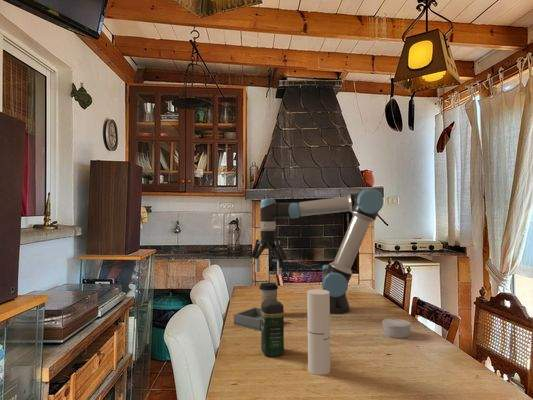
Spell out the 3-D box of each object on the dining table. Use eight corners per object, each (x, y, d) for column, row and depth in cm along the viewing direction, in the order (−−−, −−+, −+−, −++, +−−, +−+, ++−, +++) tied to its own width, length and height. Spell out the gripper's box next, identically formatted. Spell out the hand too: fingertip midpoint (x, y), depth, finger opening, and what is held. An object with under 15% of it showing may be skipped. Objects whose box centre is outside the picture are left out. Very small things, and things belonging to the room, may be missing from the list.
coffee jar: (286, 356, 129) (286, 303, 129) (264, 358, 127) (264, 304, 128) (280, 346, 138) (279, 297, 139) (259, 348, 137) (259, 298, 137)
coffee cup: (276, 317, 175) (276, 286, 175) (257, 316, 177) (257, 285, 177) (279, 312, 184) (279, 282, 184) (261, 311, 186) (261, 281, 186)
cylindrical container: (306, 365, 121) (305, 289, 121) (327, 364, 121) (326, 289, 122) (310, 375, 114) (309, 294, 114) (333, 374, 114) (332, 294, 115)
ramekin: (410, 332, 153) (410, 319, 154) (412, 341, 143) (411, 327, 143) (382, 329, 157) (382, 317, 157) (382, 338, 146) (381, 324, 147)
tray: (280, 322, 168) (280, 312, 168) (259, 330, 156) (259, 320, 156) (254, 316, 177) (254, 307, 177) (233, 324, 165) (233, 314, 166)
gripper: (244, 229, 186) (244, 271, 185) (284, 231, 171) (284, 276, 170) (253, 229, 192) (253, 269, 191) (293, 230, 177) (293, 274, 176)
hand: (268, 273), depth 181 cm, fingers open, 13 cm apart
